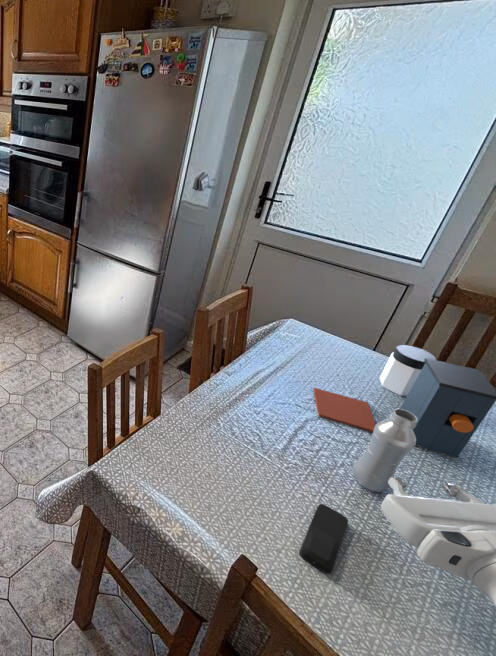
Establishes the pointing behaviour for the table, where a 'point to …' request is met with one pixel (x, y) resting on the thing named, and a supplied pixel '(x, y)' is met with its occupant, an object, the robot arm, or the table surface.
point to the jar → (403, 369)
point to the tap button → (461, 423)
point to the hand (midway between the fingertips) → (420, 482)
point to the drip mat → (344, 409)
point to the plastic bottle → (386, 450)
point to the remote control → (324, 538)
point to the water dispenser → (447, 404)
